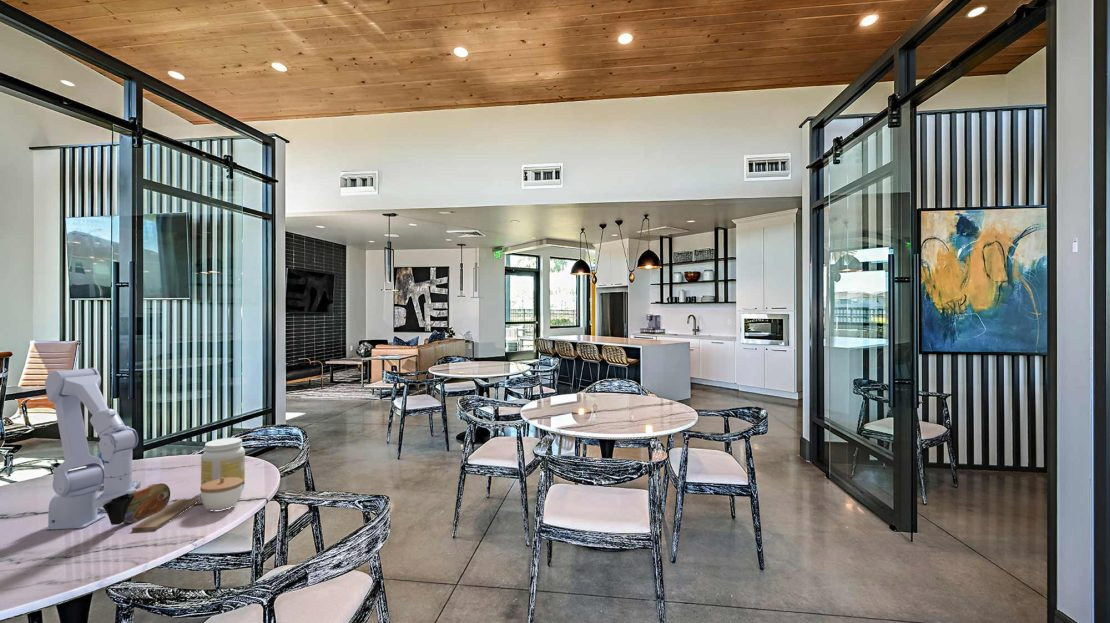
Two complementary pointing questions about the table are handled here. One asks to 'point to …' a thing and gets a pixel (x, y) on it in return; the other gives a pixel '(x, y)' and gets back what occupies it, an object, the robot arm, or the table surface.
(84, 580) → the table surface
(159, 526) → the walnut board
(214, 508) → the lidded jar
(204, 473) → the supplement tub
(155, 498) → the tin
